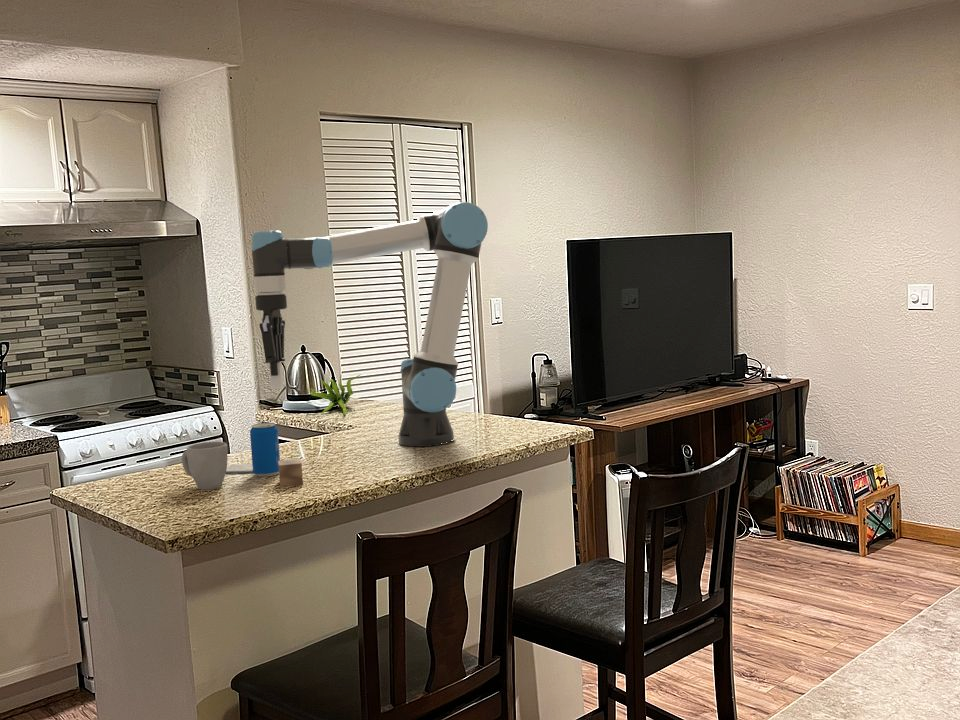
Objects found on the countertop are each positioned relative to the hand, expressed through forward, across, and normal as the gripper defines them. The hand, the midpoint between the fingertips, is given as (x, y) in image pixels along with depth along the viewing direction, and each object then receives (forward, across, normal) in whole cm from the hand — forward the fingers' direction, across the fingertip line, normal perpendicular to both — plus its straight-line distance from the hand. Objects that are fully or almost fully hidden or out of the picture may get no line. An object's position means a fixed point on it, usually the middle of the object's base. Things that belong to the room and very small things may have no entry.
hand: (277, 388), depth 230 cm
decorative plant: (+20, -82, -5) cm, 85 cm away
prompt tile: (+19, +6, -8) cm, 22 cm away
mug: (+19, +23, -11) cm, 32 cm away
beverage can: (+19, +12, 0) cm, 23 cm away
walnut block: (+19, +22, +9) cm, 31 cm away
